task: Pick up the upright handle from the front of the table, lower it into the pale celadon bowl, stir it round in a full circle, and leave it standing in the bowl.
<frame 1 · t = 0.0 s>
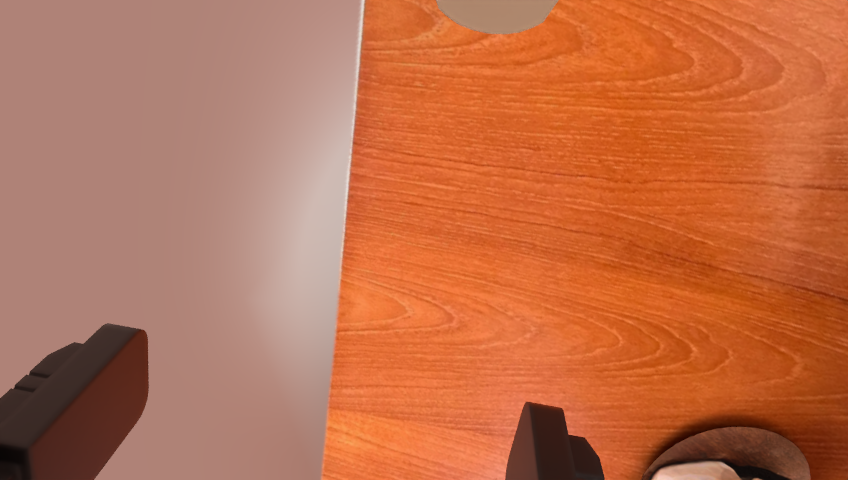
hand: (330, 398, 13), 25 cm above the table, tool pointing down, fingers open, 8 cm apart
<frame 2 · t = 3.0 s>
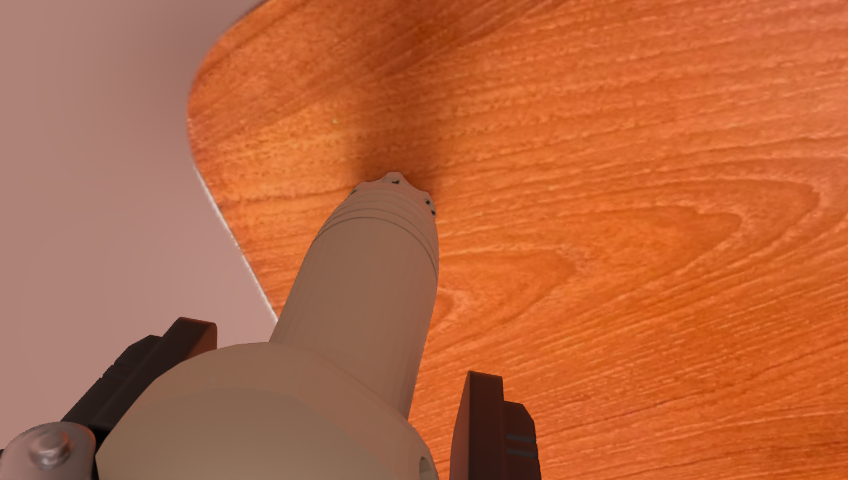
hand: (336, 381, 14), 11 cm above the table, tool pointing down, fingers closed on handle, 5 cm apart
handle: (393, 208, 23), on the table, touching gripper
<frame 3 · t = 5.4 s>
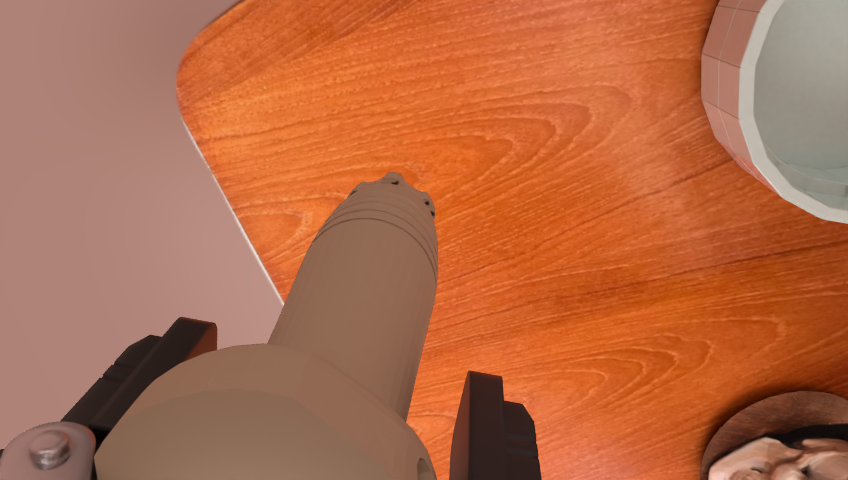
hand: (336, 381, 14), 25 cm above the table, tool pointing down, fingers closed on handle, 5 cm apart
mixing bowl: (846, 51, 34), on the table
handle: (393, 209, 23), point 15 cm above the table, touching gripper
skull: (783, 455, 45), on the table
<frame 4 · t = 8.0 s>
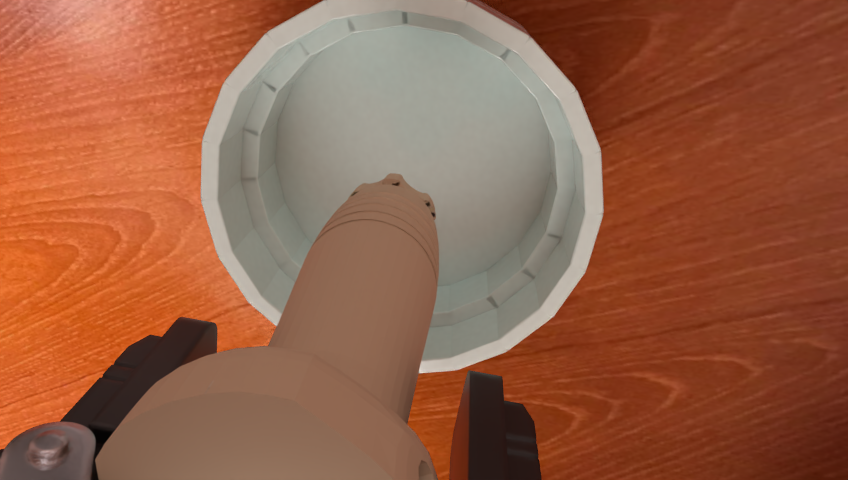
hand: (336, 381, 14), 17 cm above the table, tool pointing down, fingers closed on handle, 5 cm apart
mixing bowl: (412, 162, 29), on the table
handle: (393, 210, 23), point 7 cm above the table, touching gripper
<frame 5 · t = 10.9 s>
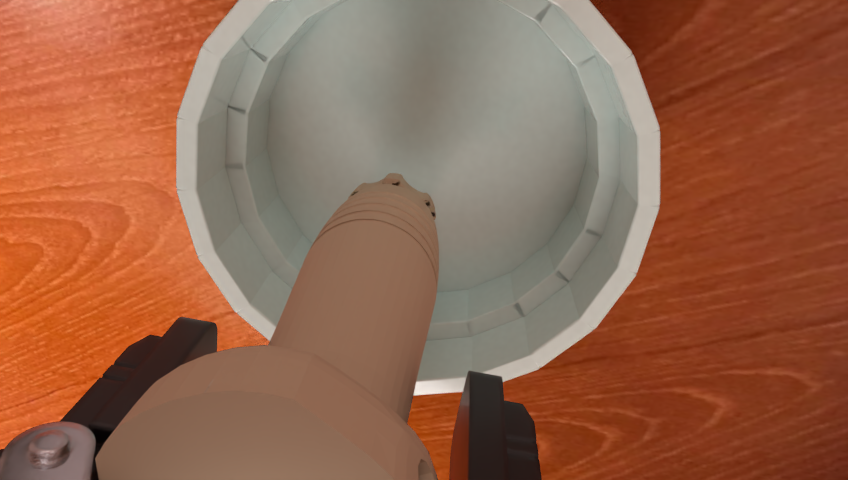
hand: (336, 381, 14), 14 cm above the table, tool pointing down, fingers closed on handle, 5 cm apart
mixing bowl: (425, 148, 25), on the table
handle: (394, 209, 23), point 3 cm above the table, touching gripper
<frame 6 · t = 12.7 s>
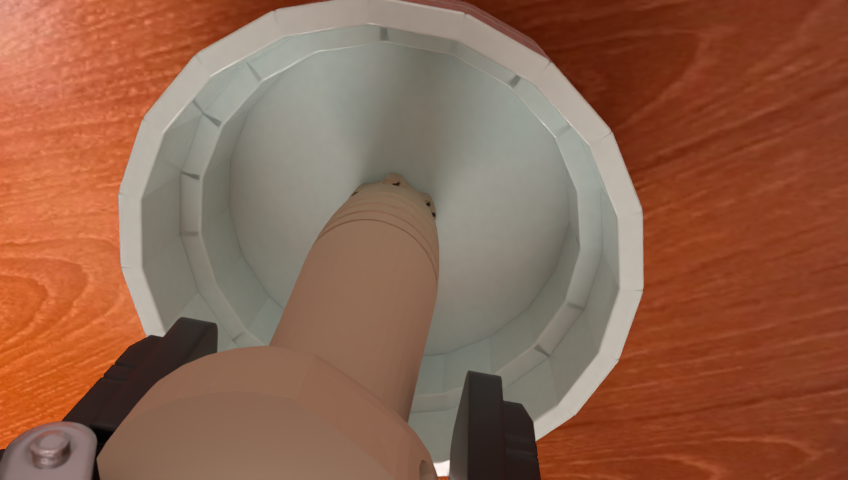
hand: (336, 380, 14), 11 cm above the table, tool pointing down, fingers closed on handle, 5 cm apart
mixing bowl: (398, 207, 24), on the table
handle: (394, 210, 23), resting on mixing bowl, touching gripper
when the fingers open (11 cm above the table, at t = 12.8 s): handle stays where it is, resting on mixing bowl.
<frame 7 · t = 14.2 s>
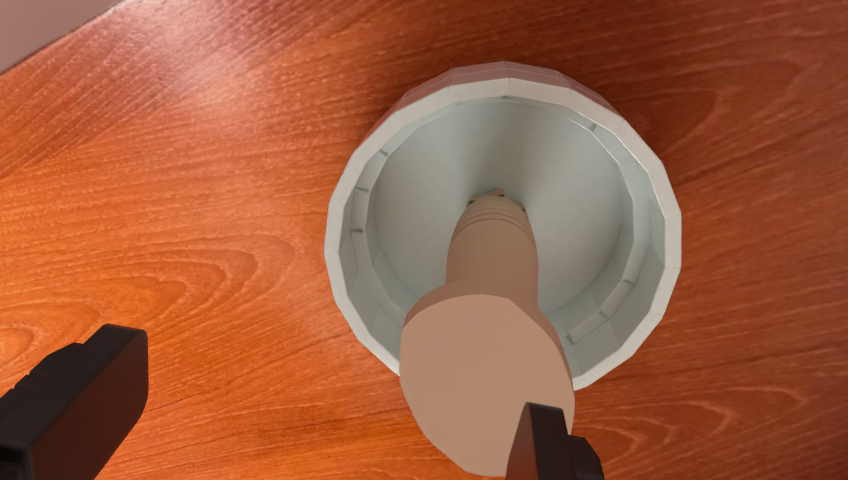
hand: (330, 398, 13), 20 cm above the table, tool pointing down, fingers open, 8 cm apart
mixing bowl: (495, 212, 33), on the table
handle: (494, 214, 32), resting on mixing bowl
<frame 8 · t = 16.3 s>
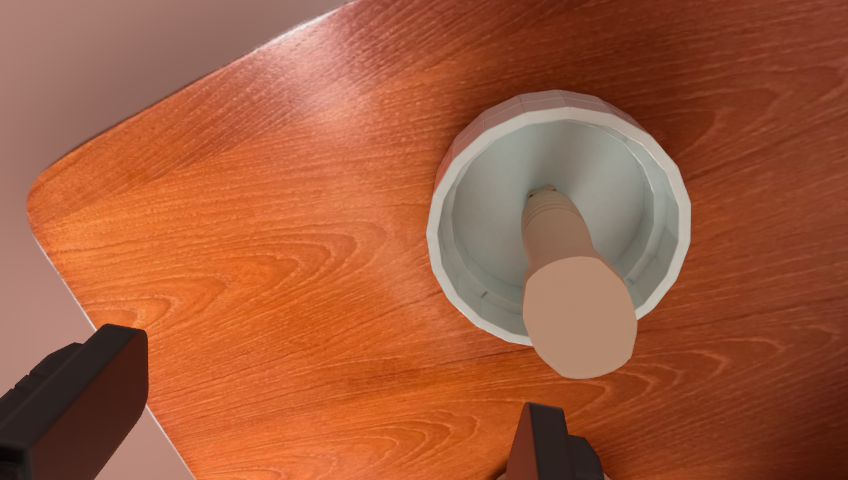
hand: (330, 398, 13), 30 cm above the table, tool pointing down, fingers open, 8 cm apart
mixing bowl: (545, 203, 43), on the table
handle: (545, 204, 42), resting on mixing bowl
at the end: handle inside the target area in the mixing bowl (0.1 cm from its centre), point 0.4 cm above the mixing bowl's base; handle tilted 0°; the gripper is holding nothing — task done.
